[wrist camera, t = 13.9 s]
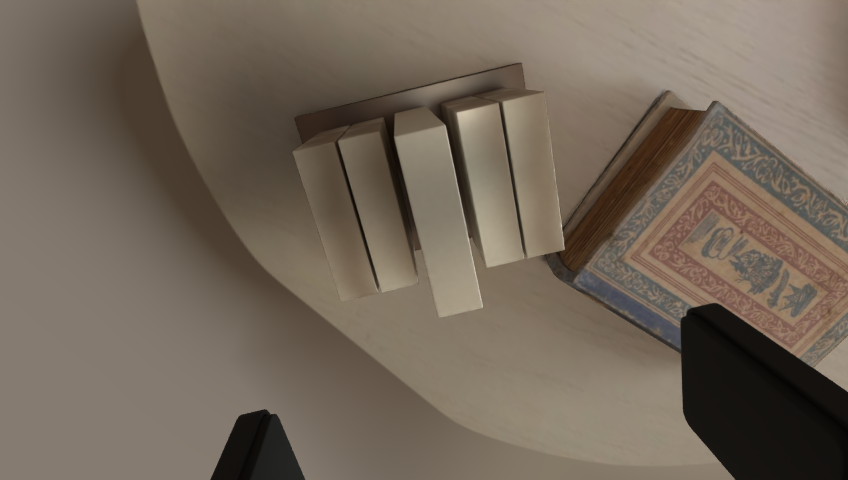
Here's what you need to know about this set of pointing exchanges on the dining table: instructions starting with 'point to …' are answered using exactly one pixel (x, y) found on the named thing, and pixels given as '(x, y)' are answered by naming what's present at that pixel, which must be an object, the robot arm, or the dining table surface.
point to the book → (711, 233)
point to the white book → (437, 210)
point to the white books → (474, 167)
